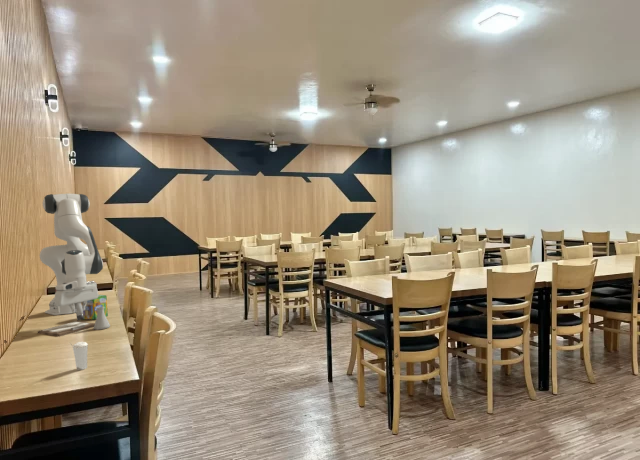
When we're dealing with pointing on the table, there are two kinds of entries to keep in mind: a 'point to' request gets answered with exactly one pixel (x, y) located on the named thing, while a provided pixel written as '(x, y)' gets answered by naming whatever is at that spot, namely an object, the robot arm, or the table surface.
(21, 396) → the table surface
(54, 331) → the clipboard
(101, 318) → the flask
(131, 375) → the table surface
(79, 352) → the milkshake
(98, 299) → the chalk box
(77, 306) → the marker
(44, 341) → the table surface
